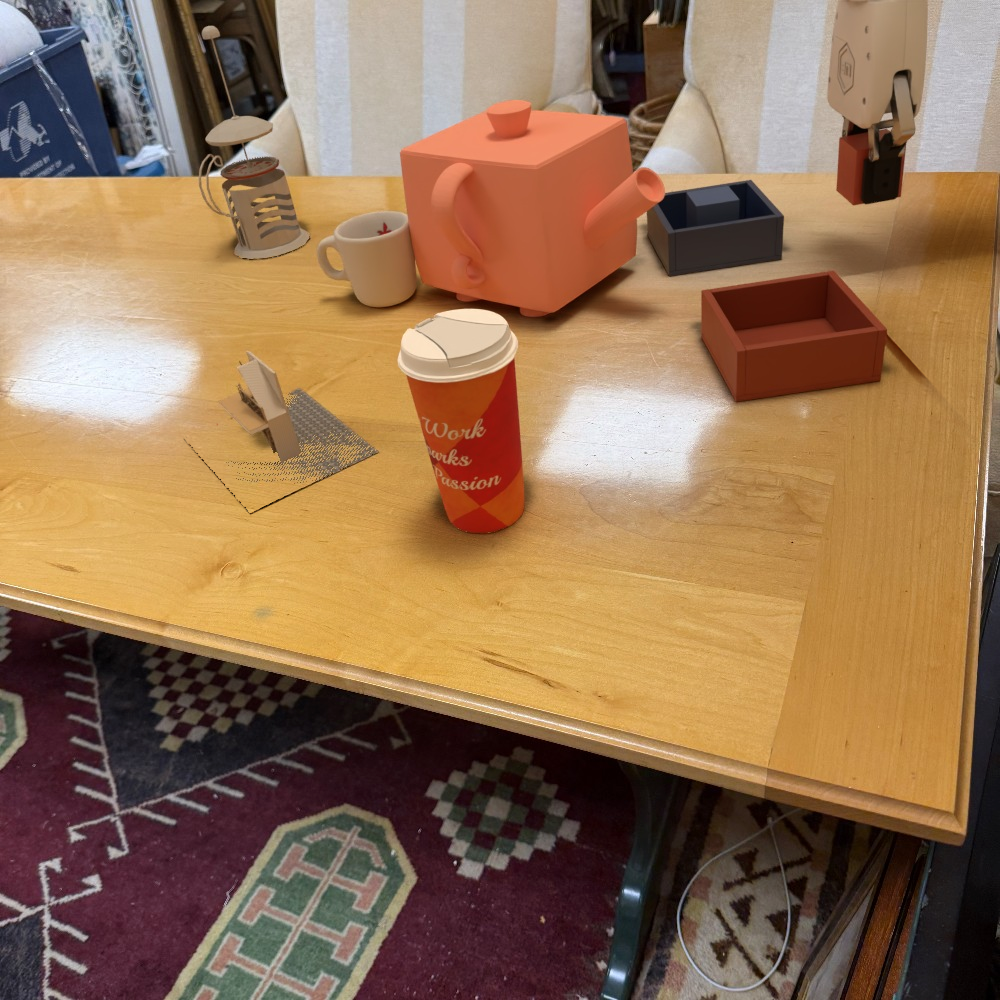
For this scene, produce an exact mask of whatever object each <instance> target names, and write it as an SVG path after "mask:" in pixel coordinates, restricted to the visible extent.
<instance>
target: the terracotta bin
mask: <svg viewBox="0 0 1000 1000" xmlns="http://www.w3.org/2000/svg"><path fill="white" fill-rule="evenodd" d="M700 295H701V297H700V298H701V300H700V302H701V304H700V305H701V307H700V308H701V309H700V311H701V313H700V314H701V315H700V316H701V317H700V318H701V320H700V321H701V329H700V334H701V339H702V341H703V342H704V345H705V346H706V349H707V350H708V352H709V354H710V356H711V358H712V360H713V361H714V363H715V365H716V367H717V369H718V371H719V373H720V375H721V376H722V379H723V380H724V382H725V384H726V386H727V388H728V389H729V392H730V394H731V395H732V397H733V399H734V401H735V402H738V403H739V402H744V401H745V402H746V401H751V400H757V399H763V398H764V399H765V398H772V397H778V396H784V395H793V394H798V393H806V392H814V391H819V390H826V389H833V388H839V387H840V388H841V387H846V386H854V385H861V384H867V383H872V382H873V383H874V382H880V381H881V380H882V372H883V364H884V356H885V349H886V342H887V334H888V328H887V327H886V326H885V325H884V324H883V323H882V322H881V320H879V318H878V317H877V316H876V315H875V313H873V312H872V311H871V309H870V308H869V307H867V305H866V304H865V303H864V302H863V300H861V299H860V298H859V297H858V295H857V294H856V293H855V292H854V291H853V290H852V289H851V288H850V287H849V285H848V284H847V283H846V282H845V281H844V280H843V279H842V278H841V276H840V275H839V274H837V272H836V271H835V270H827V271H821V272H815V273H807V274H801V275H795V276H788V277H782V278H781V277H780V278H775V279H768V280H761V281H754V282H747V283H740V284H735V285H729V286H720V287H715V288H707V289H701V294H700Z"/></svg>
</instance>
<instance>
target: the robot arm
mask: <svg viewBox="0 0 1000 1000" xmlns="http://www.w3.org/2000/svg"><path fill="white" fill-rule="evenodd" d="M928 1H929V0H837V4H836V9H835V16H834V23H833V28H832V29H833V30H832V39H831V48H830V58H829V68H828V81H827V91H826V92H827V93H826V100H827V103H828V105H829V106H830V107H831V109H833V110H834V111H836V113H838V114H839V115H841V117H842V118H843V122H842V130H841V137H845V136H851V135H856V134H861V133H867V132H868V155H869V158H868V159H864V165H863V178H862V191H861V201H862V202H863V203H864V204H863V205H870V204H877V203H883V202H888V201H893V200H896V199H897V197H898V193H899V182H900V172H901V162H902V156H903V155H904V153H905V154H906V151H905V145H906V146H907V143H908V141H909V140H911V138H912V137H914V136H915V134H916V123H915V122H916V121H915V118H917V116H918V114H919V112H920V110H921V106H922V101H923V100H922V99H923V94H924V86H925V85H924V84H925V76H926V75H925V74H926V62H927V49H928V47H927V46H928V45H927V44H928V21H929V20H928V17H929V16H928V15H929V14H928V13H929V11H928V8H929V7H928V5H929V4H928ZM885 114H891V117H892V118H889V119H885V120H882V119H883V117H884V115H885ZM883 129H890V130H889V131H890V132H889V133H886V134H884V136H883V137H882V139H881V140H880V132H879V130H883ZM898 198H899V197H898Z"/></svg>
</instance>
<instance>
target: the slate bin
mask: <svg viewBox="0 0 1000 1000" xmlns="http://www.w3.org/2000/svg"><path fill="white" fill-rule="evenodd" d="M723 186H729V187H730V189H731V190H732V191H733V192H734V194H735V195H736V196H737V197H738V198H739V200H740V202H739V220H736V221H729V222H723V223H716V224H710V225H703V226H696V227H690V228H687V209H686V193H687V192H691V191H697V190H704V189H710V188H717V187H723ZM784 224H785V215H784V214H783V213H782V212H781V211H780V210H779V208H778V207H776V205H775V204H774V203H773V202H772V201H771V200H770V199H769V197H767V195H766V194H765V193H764V192H763V191H762V189H760V188H759V187H758V185H757V184H756V183H755V182H754V181H753V180H752V179H747V180H741V181H734V182H726V183H721V184H713V185H708V186H702V187H695V188H689V189H688V188H687V189H683V190H675V191H668V192H665V196H664V198H663V200H661V201H660V202H659V203H658V204H656V205H655V206H653V207H652V208H651V209H649V210H648V211H647V212H646V229H647V231H646V232H647V238H648V240H649V241H650V243H651V245H652V247H653V249H654V250H655V253H656V255H657V256H658V258H659V260H660V262H661V264H662V265H663V267H664V269H665V271H666V273H667V275H668V277H673V276H680V275H687V274H694V273H699V272H707V271H714V270H719V269H727V268H734V267H740V266H746V265H753V264H759V263H765V262H774V261H779V260H782V259H783V244H784V243H783V242H784V226H785V225H784Z"/></svg>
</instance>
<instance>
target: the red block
mask: <svg viewBox="0 0 1000 1000" xmlns="http://www.w3.org/2000/svg"><path fill="white" fill-rule="evenodd" d="M890 131H891V130H889V128H886V129H880V130H879V132H880V140H881V139H882V137H883V136H884V134H886V133H889V132H890ZM906 151H907V144H906V145H905V153H904V155H903V156H902V162H901V172H900V182H899V193H898V197H897V198H902V190H903V180H904V172H905V171H904V169H905V161H906ZM837 155H838V158H837V170H836V171H837V173H836V187H835V188H836V192H837V193H839V194H840V196H841V197H843V198H844V200H847V202H849V204H851V205H852V206H858V205H865V204H864V203H863V202H862V201H861V191H862V178H863V165H864V159H868V158H869V155H868V132H867V133H861V134H856V135H851V136H845V137H842V136H840V137H839V138H838V154H837ZM897 198H896V199H897Z"/></svg>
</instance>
